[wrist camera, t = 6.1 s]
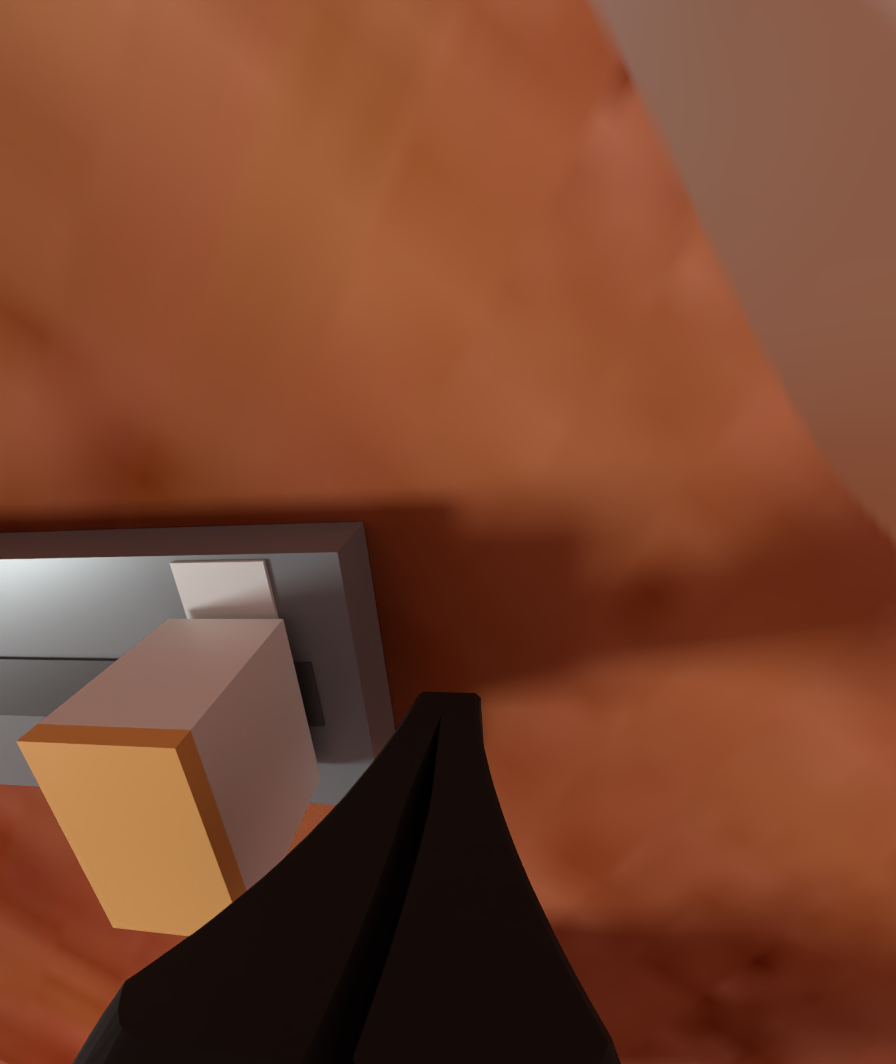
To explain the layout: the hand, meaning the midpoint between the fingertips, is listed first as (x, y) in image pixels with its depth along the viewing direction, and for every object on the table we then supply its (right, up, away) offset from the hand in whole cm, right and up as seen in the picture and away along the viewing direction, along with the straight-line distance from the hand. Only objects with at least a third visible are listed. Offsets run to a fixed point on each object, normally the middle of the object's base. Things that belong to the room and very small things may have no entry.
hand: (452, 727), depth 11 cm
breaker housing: (-10, +1, +4) cm, 11 cm away
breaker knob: (-5, 0, +1) cm, 5 cm away
